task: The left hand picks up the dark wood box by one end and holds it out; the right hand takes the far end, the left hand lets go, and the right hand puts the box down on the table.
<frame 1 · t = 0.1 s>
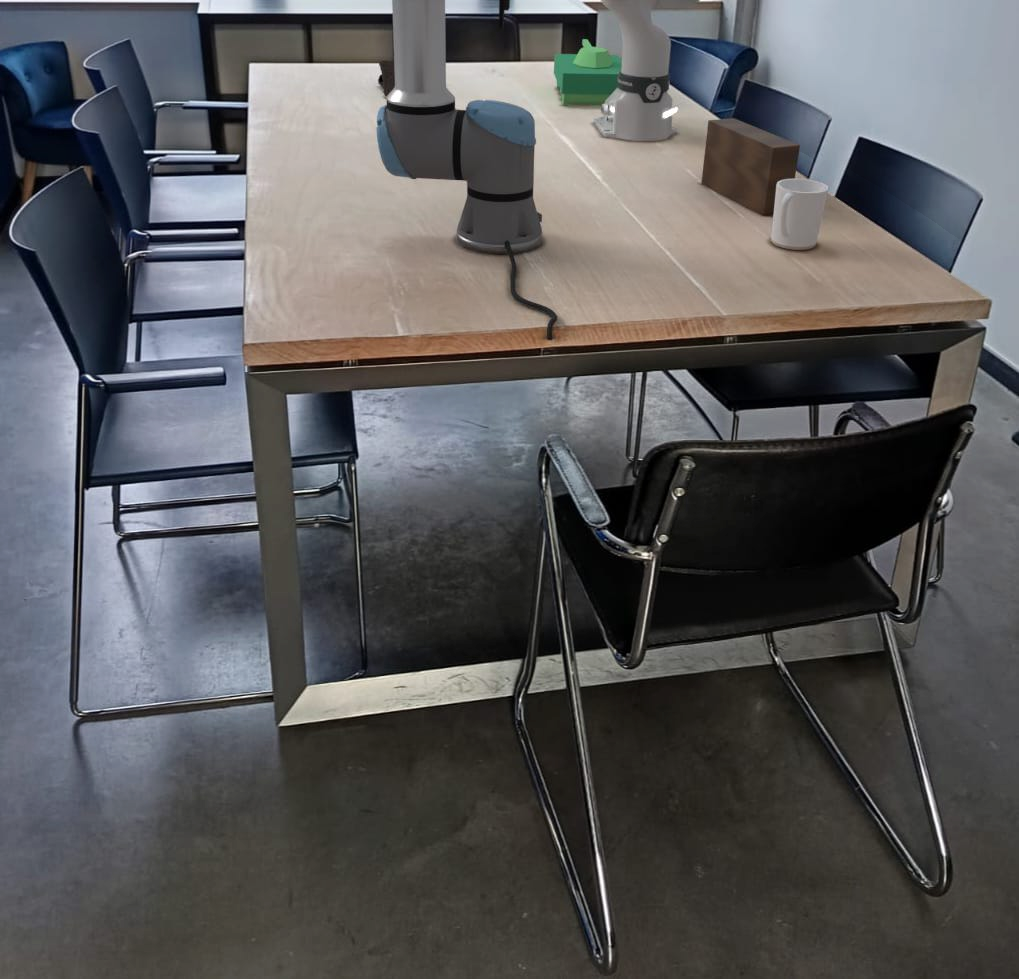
left hand: (468, 26, 224), 28 cm above the table, tool pointing down, fingers open, 13 cm apart
mug: (790, 245, 197), on the table
axe head: (403, 91, 300), on the table
toy tank: (587, 94, 302), on the table
box: (743, 197, 221), on the table
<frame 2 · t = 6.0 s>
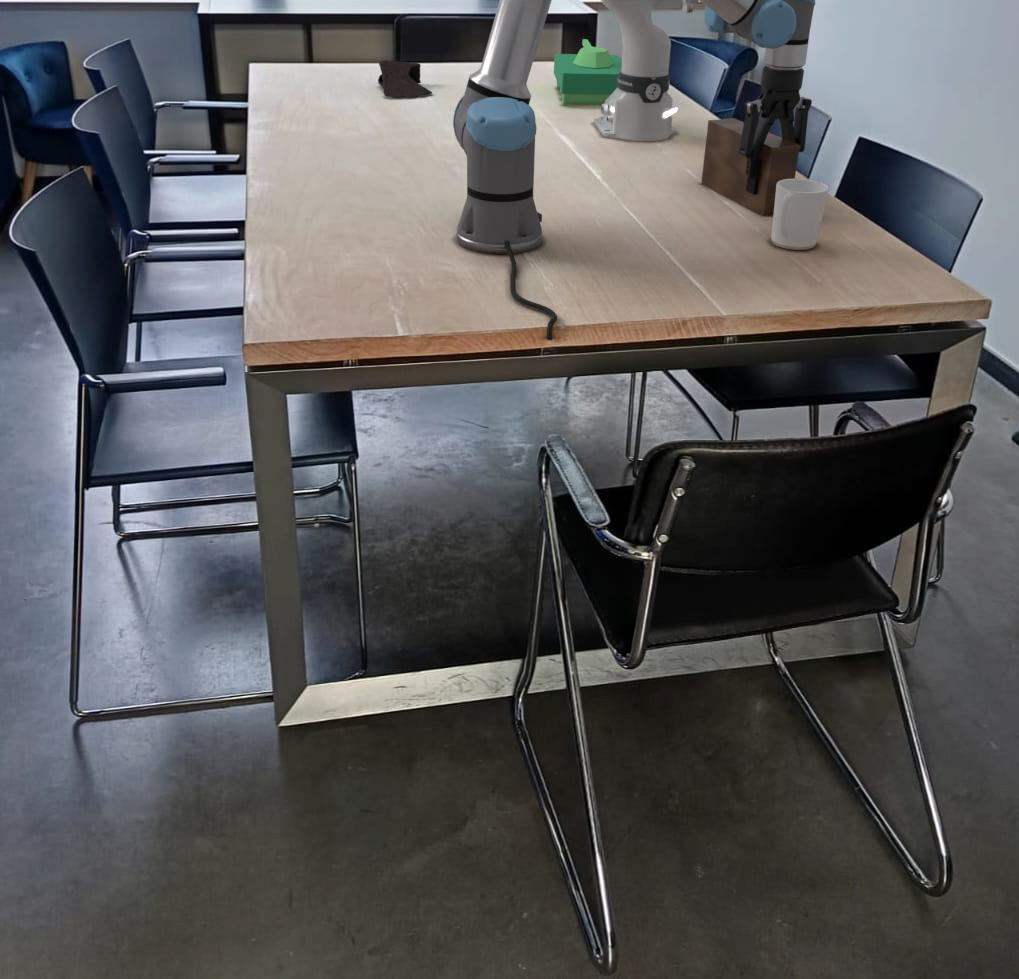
left hand: (766, 190, 214), 3 cm above the table, tool pointing down, fingers closed on box, 6 cm apart
right hand: (707, 11, 224), 32 cm above the table, tool pointing down, fingers open, 8 cm apart
box: (743, 197, 221), on the table, touching left hand
everything else where it was.
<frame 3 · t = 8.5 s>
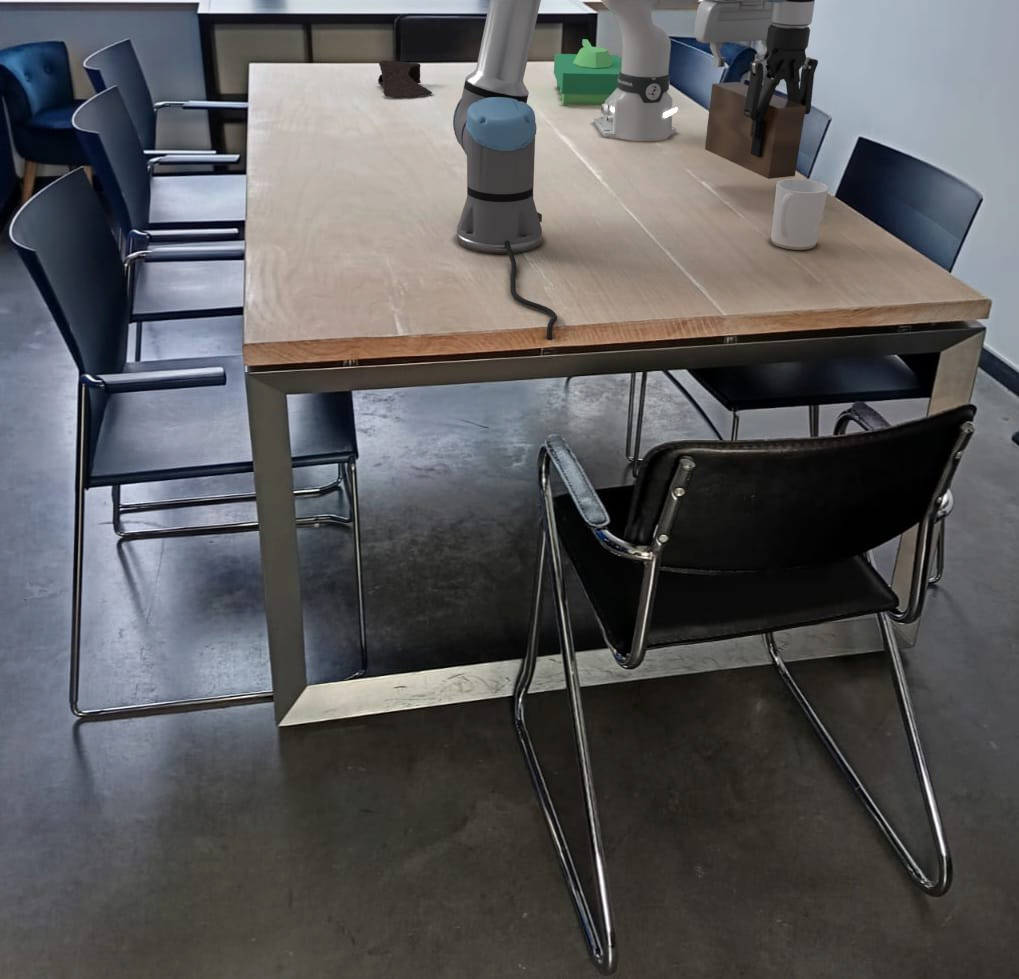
left hand: (771, 153, 210), 11 cm above the table, tool pointing down, fingers closed on box, 6 cm apart
right hand: (739, 65, 214), 24 cm above the table, tool pointing down, fingers open, 8 cm apart
box: (748, 162, 218), point 7 cm above the table, touching left hand
everything else where it was.
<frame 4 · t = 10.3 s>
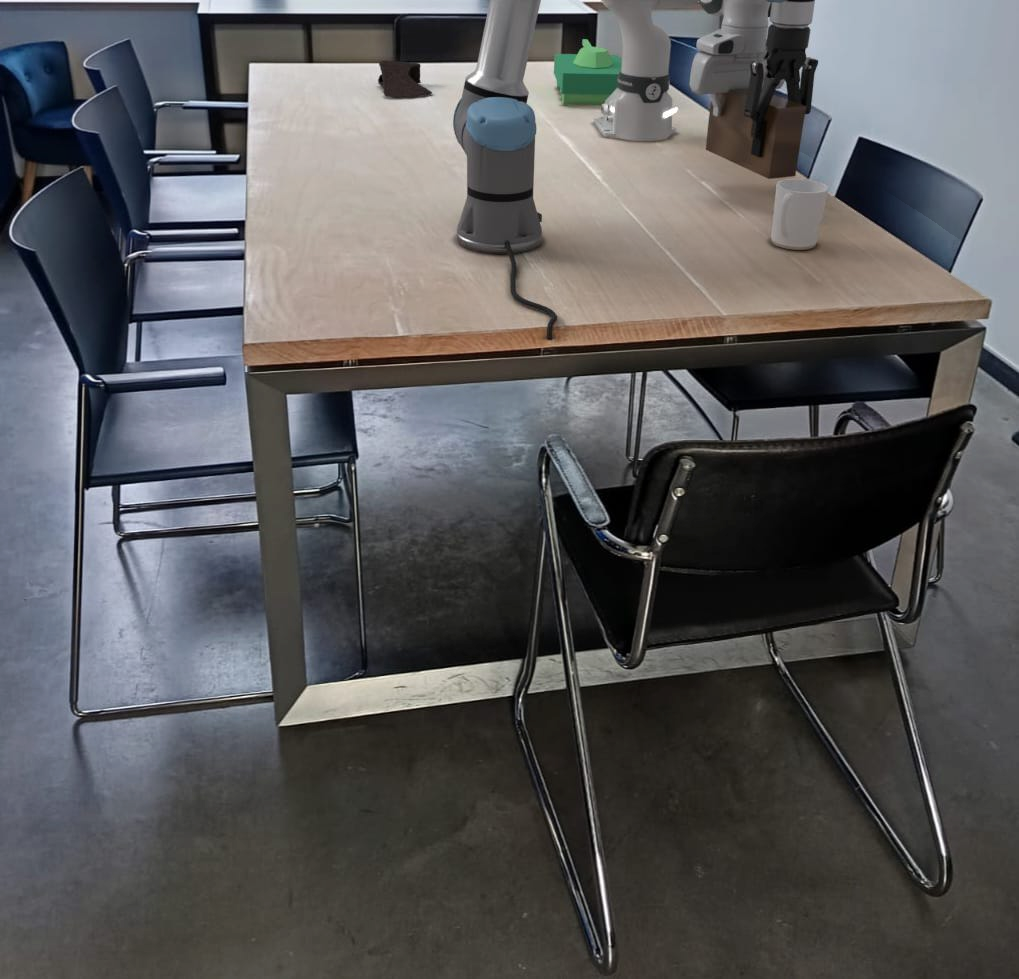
left hand: (771, 153, 210), 11 cm above the table, tool pointing down, fingers closed on box, 6 cm apart
right hand: (733, 114, 219), 15 cm above the table, tool pointing down, fingers closed on box, 6 cm apart
box: (748, 162, 218), point 7 cm above the table, touching left hand, right hand
everything else where it was.
when the left hand's fingers open (11 cm above the table, at t = 11.2 s): box stays where it is, held by the right hand.
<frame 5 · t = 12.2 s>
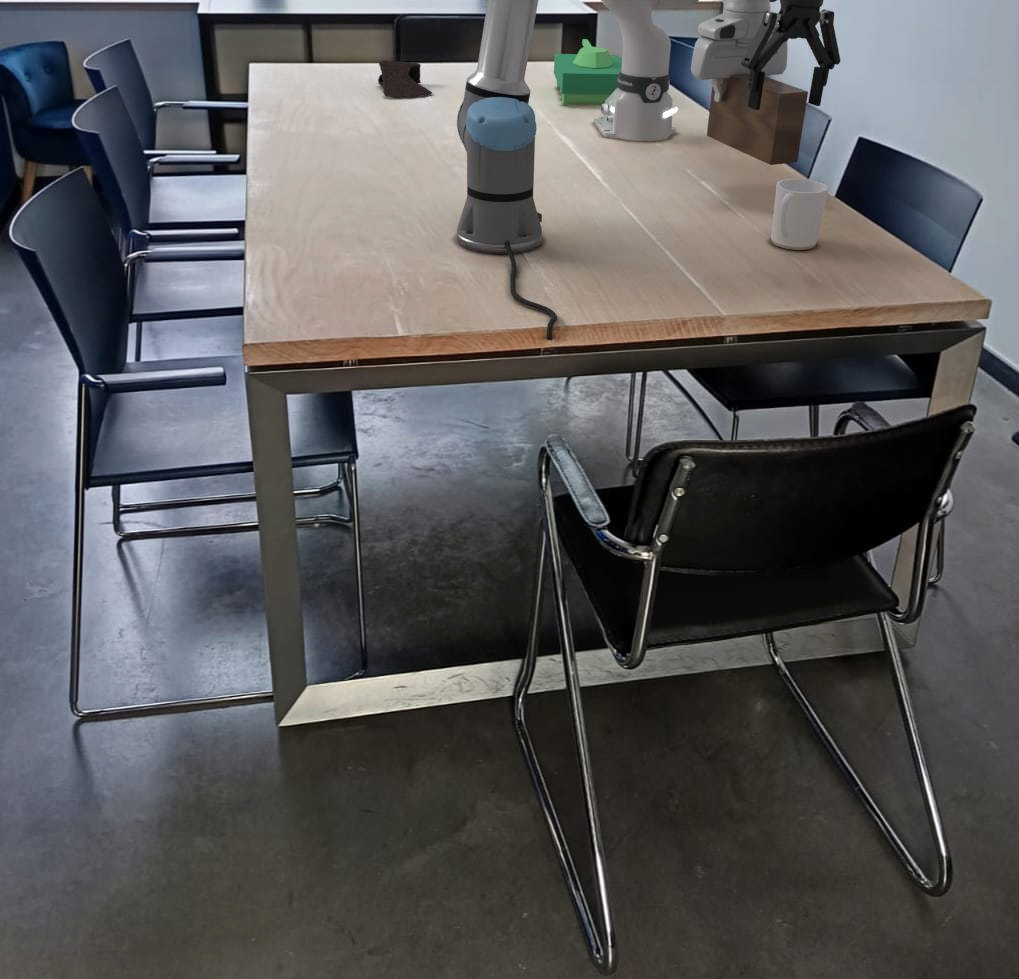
left hand: (784, 106, 203), 20 cm above the table, tool pointing down, fingers open, 13 cm apart
right hand: (735, 100, 218), 18 cm above the table, tool pointing down, fingers closed on box, 6 cm apart
box: (750, 148, 216), point 10 cm above the table, touching right hand
everything else where it was.
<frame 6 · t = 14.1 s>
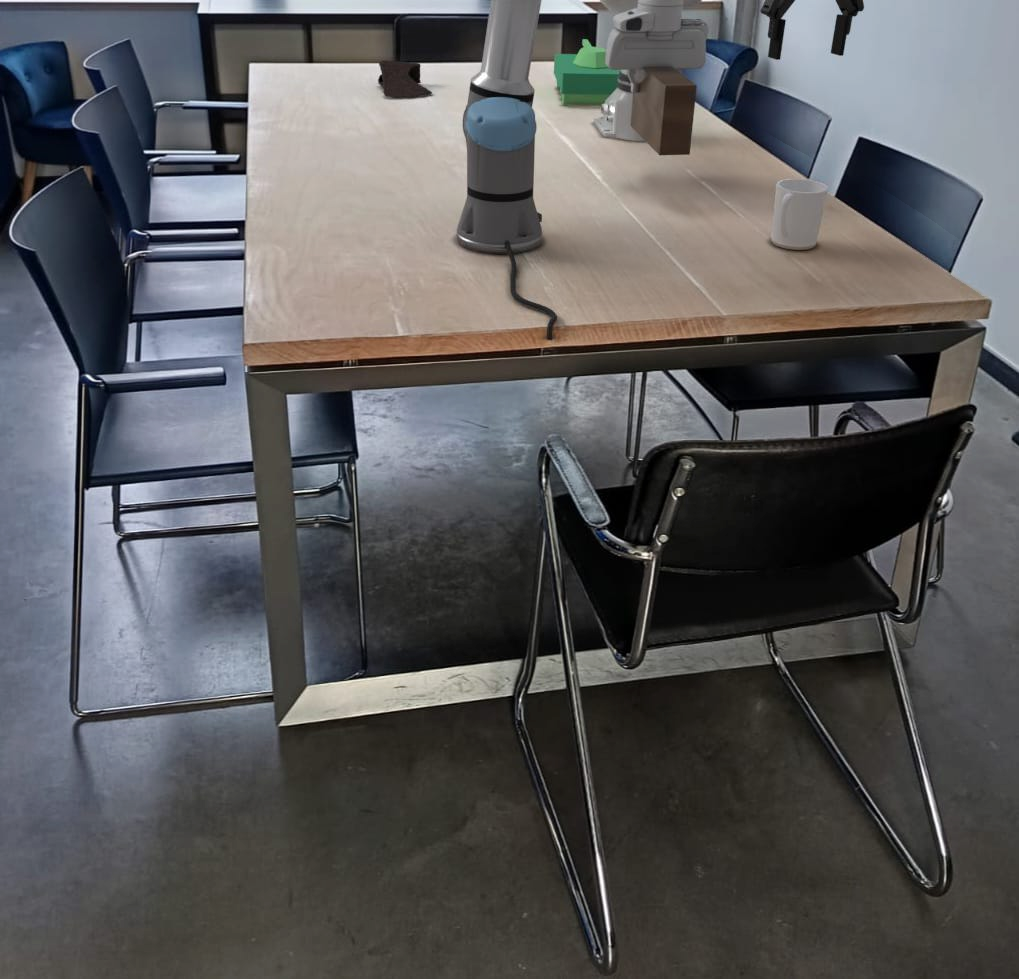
left hand: (805, 56, 196), 29 cm above the table, tool pointing down, fingers open, 13 cm apart
right hand: (652, 91, 223), 17 cm above the table, tool pointing down, fingers closed on box, 6 cm apart
box: (658, 139, 222), point 10 cm above the table, touching right hand
everything else where it was.
when the right hand's fingers open (9 cm above the table, at t = 18.0 s): box moves 1 cm, on the table.
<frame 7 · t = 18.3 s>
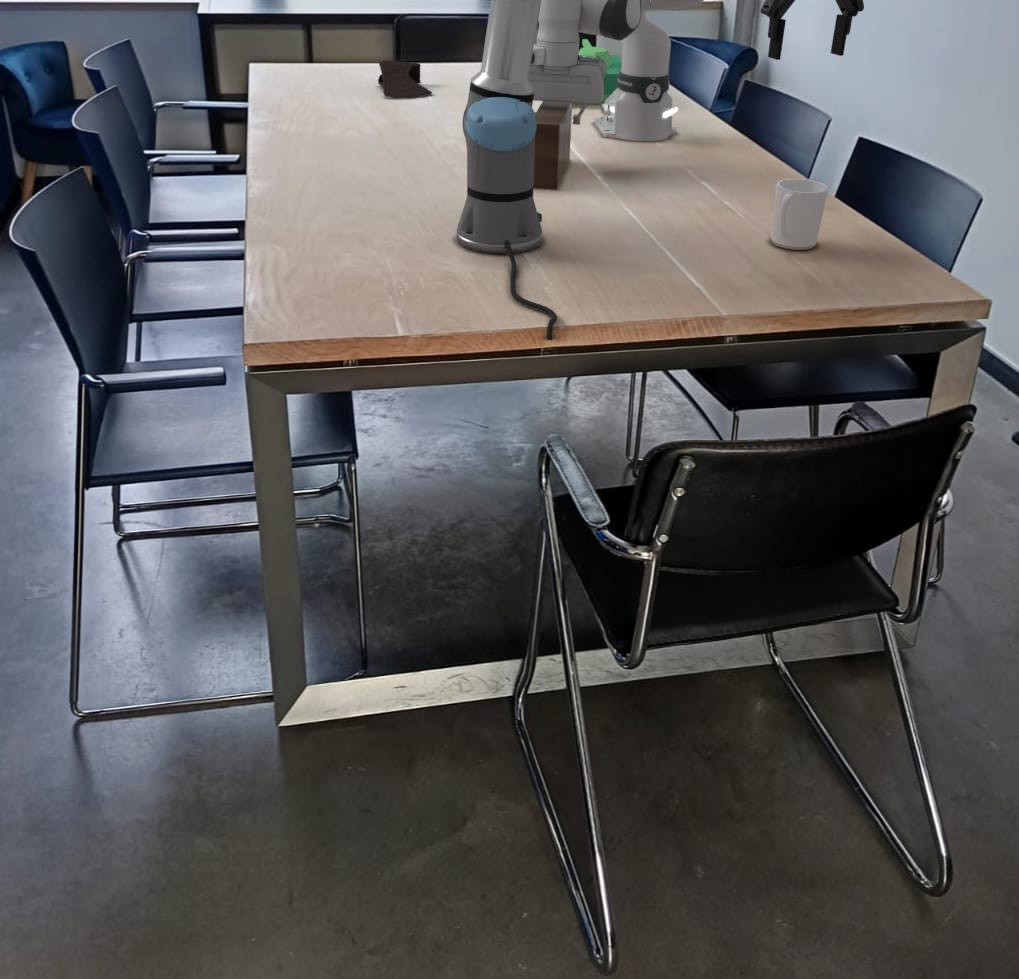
left hand: (805, 56, 196), 29 cm above the table, tool pointing down, fingers open, 13 cm apart
right hand: (554, 122, 234), 9 cm above the table, tool pointing down, fingers open, 8 cm apart
box: (549, 173, 233), on the table
everything else where it was.
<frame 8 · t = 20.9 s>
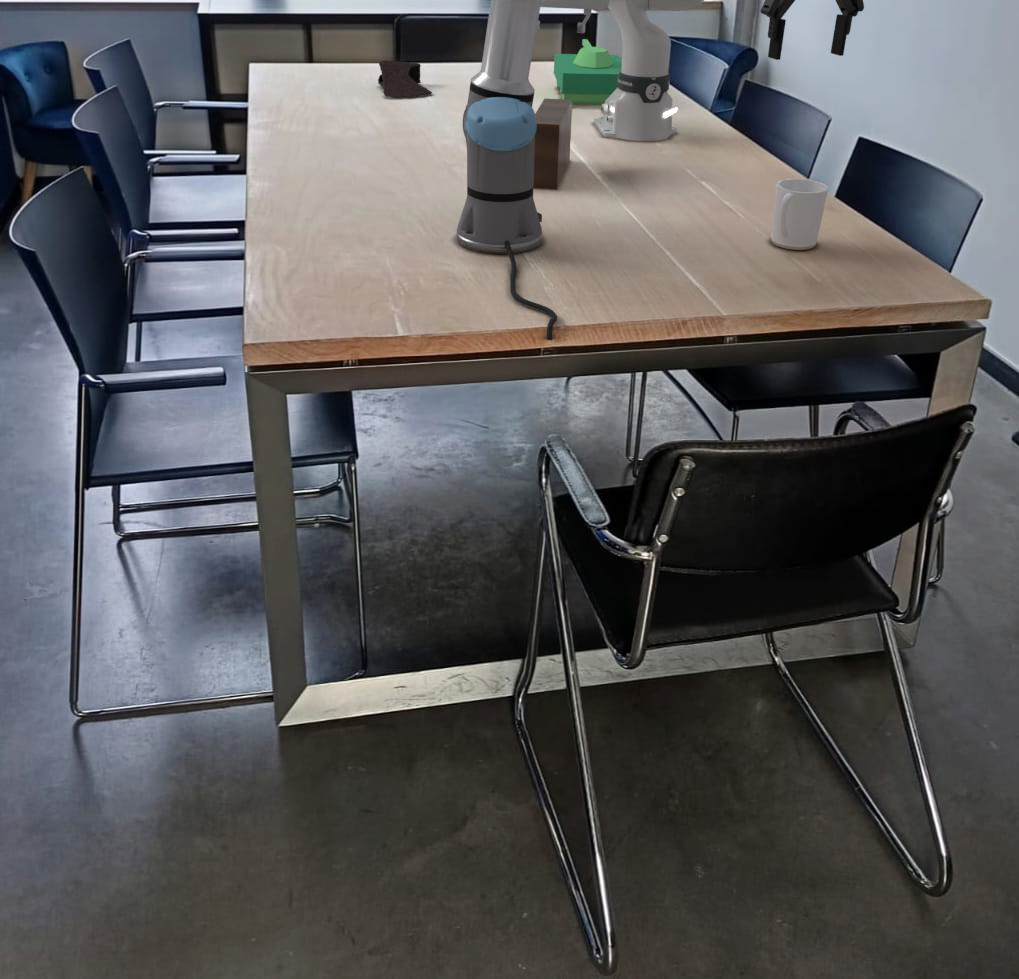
left hand: (805, 56, 196), 29 cm above the table, tool pointing down, fingers open, 13 cm apart
right hand: (558, 31, 225), 27 cm above the table, tool pointing down, fingers open, 8 cm apart
nothing on the table moved.
at the end: box inside the target area (6.5 cm from its centre), on the table; the left hand is holding nothing; the right hand is holding nothing; box at rest at the end (0.0 cm/s) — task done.
